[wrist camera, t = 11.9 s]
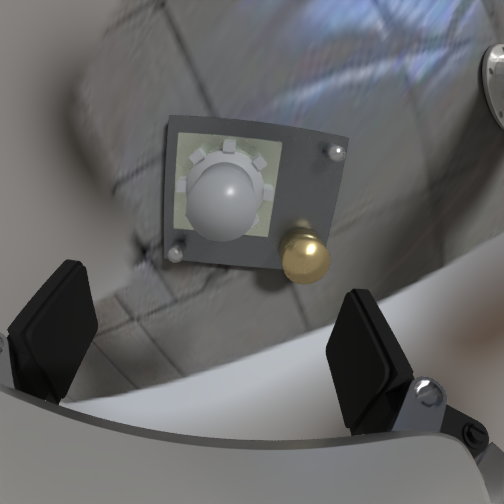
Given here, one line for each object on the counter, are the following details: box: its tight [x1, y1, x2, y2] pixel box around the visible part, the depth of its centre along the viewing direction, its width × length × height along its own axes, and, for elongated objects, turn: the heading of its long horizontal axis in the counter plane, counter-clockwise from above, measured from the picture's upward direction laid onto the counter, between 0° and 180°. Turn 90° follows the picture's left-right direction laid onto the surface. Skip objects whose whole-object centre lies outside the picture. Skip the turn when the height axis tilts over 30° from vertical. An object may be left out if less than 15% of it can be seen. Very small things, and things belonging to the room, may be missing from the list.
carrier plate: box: [164, 115, 349, 284], centre depth 26 cm, size 16×14×4 cm
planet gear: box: [176, 140, 274, 242], centre depth 23 cm, size 8×8×7 cm
